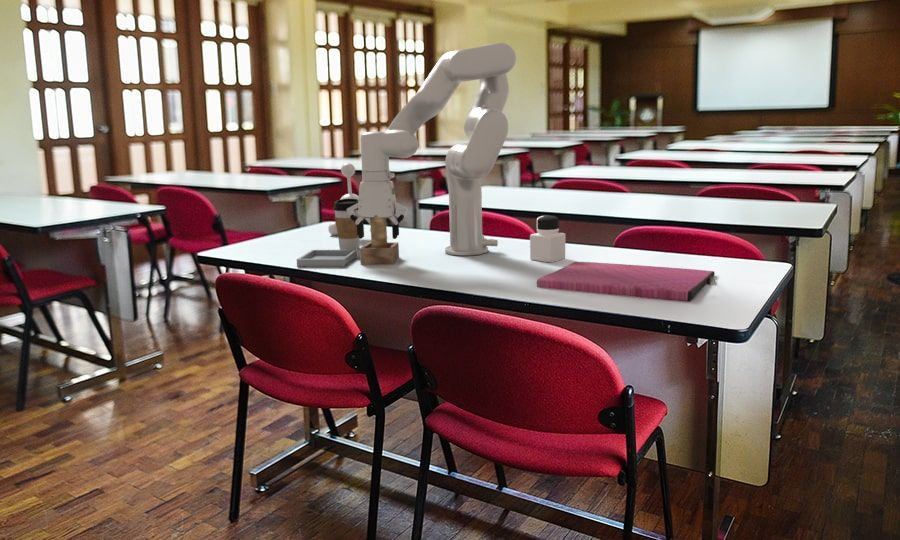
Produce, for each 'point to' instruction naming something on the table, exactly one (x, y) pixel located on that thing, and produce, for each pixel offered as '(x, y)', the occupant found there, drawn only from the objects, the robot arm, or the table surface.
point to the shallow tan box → (379, 254)
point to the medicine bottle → (547, 240)
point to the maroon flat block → (629, 280)
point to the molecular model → (347, 171)
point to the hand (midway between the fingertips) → (378, 238)
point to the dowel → (378, 232)
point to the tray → (327, 258)
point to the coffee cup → (346, 224)
